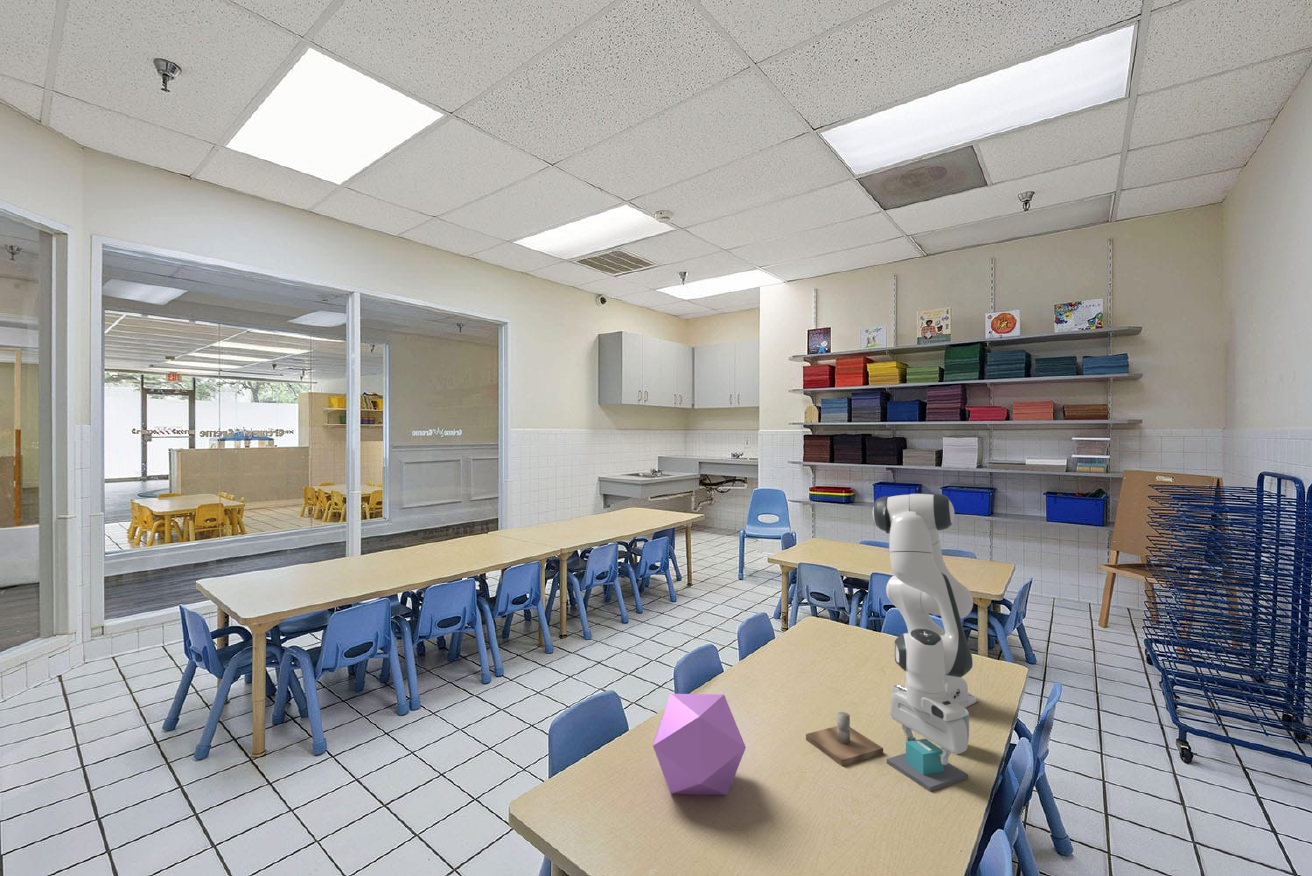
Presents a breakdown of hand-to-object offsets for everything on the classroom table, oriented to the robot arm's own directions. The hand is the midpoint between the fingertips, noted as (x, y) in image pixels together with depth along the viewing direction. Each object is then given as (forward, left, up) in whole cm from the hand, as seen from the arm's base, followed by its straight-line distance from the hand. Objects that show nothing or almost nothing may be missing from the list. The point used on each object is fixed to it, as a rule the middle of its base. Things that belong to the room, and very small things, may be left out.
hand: (926, 753), depth 139 cm
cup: (-16, -5, -4) cm, 17 cm away
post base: (+11, -17, -4) cm, 21 cm away
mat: (0, 0, -4) cm, 4 cm away
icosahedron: (+55, -18, -4) cm, 58 cm away
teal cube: (+1, 0, -3) cm, 3 cm away
